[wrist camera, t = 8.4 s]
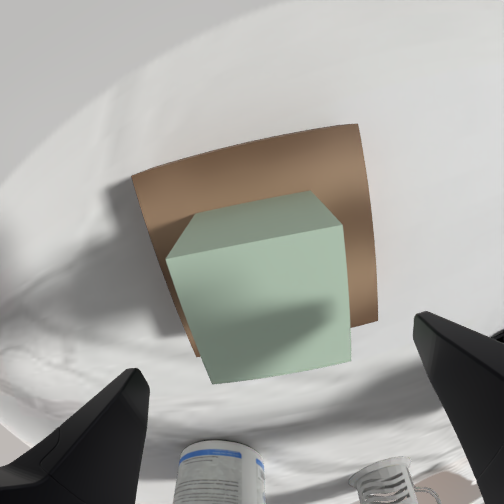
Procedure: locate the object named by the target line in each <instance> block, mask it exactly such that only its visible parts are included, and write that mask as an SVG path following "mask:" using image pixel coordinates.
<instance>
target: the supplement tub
mask: <svg viewBox="0 0 504 504" xmlns="http://www.w3.org/2000/svg"><path fill="white" fill-rule="evenodd" d="M173 504H266V500H265V479H264V462H263V459H262V457H261V455H260V454H259V453H258V452H257V451H255V450H254V449H252V448H250V447H248V446H246V445H243V444H240V443H235V442H228V441H222V440H210V441H202V442H198V443H194V444H192V445H190V446H188V447H187V448H185V449H184V450H183V452H182V454H181V456H180V462H179V468H178V474H177V481H176V487H175V494H174V501H173Z"/></svg>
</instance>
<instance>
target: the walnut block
mask: <svg viewBox="0 0 504 504" xmlns="http://www.w3.org/2000/svg"><path fill="white" fill-rule="evenodd" d="M131 177H132V181H133V184H134V187H135V191H136V194H137V197H138V201H139V204H140V207H141V210H142V214H143V217H144V220H145V223H146V226H147V229H148V232H149V235H150V238H151V241H152V244H153V247H154V250H155V253H156V256H157V258H158V261H159V264H160V267H161V270H162V272H163V275H164V278H165V281H166V283H167V286H168V289H169V291H170V294H171V296H172V299H173V302H174V304H175V307H176V309H177V312H178V314H179V317H180V319H181V322H182V324H183V327H184V329H185V332H186V334H187V336H188V339H189V341H190V343H191V346H192V348H193V350H194V353H195V355H196V357H201V356H200V353H199V351H198V348H197V346H196V343H195V341H194V338H193V336H192V333H191V330H190V328H189V325H188V322H187V320H186V317H185V314H184V312H183V309H182V306H181V303H180V300H179V298H178V295H177V292H176V289H175V286H174V283H173V280H172V277H171V275H170V272H169V269H168V266H167V262H166V257H167V256H168V254H169V253H170V251H171V250H172V248H173V247H174V245H175V244H176V242H177V240H178V239H179V237H180V236H181V234H182V233H183V231H184V230H185V228H186V227H187V225H188V224H189V222H190V221H191V219H192V218H193V216H194V215H195V214H196V213H200V212H205V211H209V210H214V209H218V208H223V207H228V206H233V205H237V204H242V203H247V202H252V201H257V200H262V199H267V198H273V197H278V196H283V195H288V194H294V193H299V192H305V191H310V190H311V192H312V193H313V194H314V195H315V196H316V197H317V198H318V199H319V200H320V201H321V202H322V203H323V204H324V205H325V206H326V207H327V208H328V209H329V211H330V212H331V213H332V214H333V215H334V216H335V217H336V218H337V219H338V220H339V221H340V222H341V224H342V225H343V233H344V242H345V253H346V264H347V277H348V291H349V308H350V328H352V327H356V326H360V325H364V324H368V323H372V322H375V321H378V297H377V274H376V257H375V244H374V232H373V222H372V213H371V204H370V196H369V188H368V181H367V174H366V167H365V161H364V155H363V149H362V143H361V137H360V132H359V127H358V124H346V125H336V126H330V127H323V128H317V129H311V130H305V131H300V132H294V133H289V134H284V135H279V136H274V137H269V138H264V139H260V140H255V141H251V142H246V143H242V144H237V145H233V146H229V147H225V148H221V149H217V150H213V151H209V152H205V153H202V154H198V155H194V156H191V157H187V158H184V159H180V160H177V161H173V162H170V163H166V164H163V165H160V166H157V167H153V168H150V169H148V170H145V171H142V172H140V173H137V174H135V175H132V176H131Z"/></svg>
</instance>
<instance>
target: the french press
mask: <svg viewBox="0 0 504 504" xmlns="http://www.w3.org/2000/svg"><path fill="white" fill-rule="evenodd" d="M411 462H412V461H411V459H410V458H409V457H403V456H402V457H394V458H389V459H386V460H383V461H379V462H377V463H374V464H372V465H370V466H368V467H365V468H364V469H362V470H360V471H359V472H357V473H355V474H354V475H353V476H352V477H351V478H350V479H349V485H351V486H352V487H354V488H356V489H357V490H358V495H359V499H360V503H361V504H418V501H417V498H416V495H415V492H421V491H422V492H427V493H430V494H431V495H432V496H434V497H435V499H436V501H437V503H438V504H442V503H441V500H440V499H439V496H438V495H437V493H436V492H435V491H434V490H432V489H431V488H427V487H415V486H414V484H413V481H412V478H411V475H410V472H409V470H408V468H409V467H410V464H411ZM402 483H403V484H402ZM414 488H416V489H418V488H425V489H428V490H431V491H432V492H433V493H434V494H435V495H436V496H437V497H436V496H435V495H434V494H432V492H430V491H426V490H415V489H414ZM404 489H405V491H404ZM398 490H399V491H398ZM395 491H398V492H397V493H395V494H394V495H391V496H387V497H384V496H374V495H370V494H376V493H382V494H386V493H391V492H395ZM403 491H404V492H403ZM414 491H415V492H414ZM363 493H364V494H363ZM406 496H407V499H406V500H404V501H402V500H403V499H404V498H405V497H406ZM365 499H367V500H366V501H365ZM395 499H398V500H396V501H394V502H390V503H381V502H373V501H388V500H395ZM401 501H402V502H401Z"/></svg>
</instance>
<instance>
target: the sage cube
mask: <svg viewBox="0 0 504 504" xmlns="http://www.w3.org/2000/svg"><path fill="white" fill-rule="evenodd" d="M166 262H167V266H168V269H169V272H170V275H171V277H172V280H173V283H174V286H175V289H176V292H177V295H178V298H179V300H180V303H181V306H182V309H183V312H184V314H185V317H186V320H187V322H188V325H189V328H190V330H191V333H192V336H193V338H194V341H195V343H196V346H197V348H198V351H199V353H200V356H201V358H202V361H203V363H204V366H205V368H206V371H207V373H208V376H209V378H210V380H211V383H212V384H221V383H230V382H238V381H246V380H253V379H260V378H267V377H273V376H279V375H285V374H291V373H297V372H302V371H308V370H313V369H318V368H323V367H327V366H332V365H336V364H341V363H345V362H350V361H351V330H350V308H349V291H348V277H347V264H346V253H345V242H344V233H343V225H342V224H341V222H340V221H339V220H338V219H337V218H336V217H335V216H334V215H333V214H332V213H331V212H330V211H329V209H328V208H327V207H326V206H325V205H324V204H323V203H322V202H321V201H320V200H319V199H318V198H317V197H316V196H315V195H314V194H313V193H312V192H311V190H310V191H305V192H299V193H294V194H288V195H283V196H278V197H273V198H267V199H262V200H257V201H252V202H247V203H242V204H237V205H233V206H228V207H223V208H218V209H214V210H209V211H205V212H200V213H196V214H195V215H194V216H193V218H192V219H191V221H190V222H189V224H188V225H187V227H186V228H185V230H184V231H183V233H182V234H181V236H180V237H179V239H178V240H177V242H176V244H175V245H174V247H173V248H172V250H171V251H170V253H169V254H168V256H167V257H166Z"/></svg>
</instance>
